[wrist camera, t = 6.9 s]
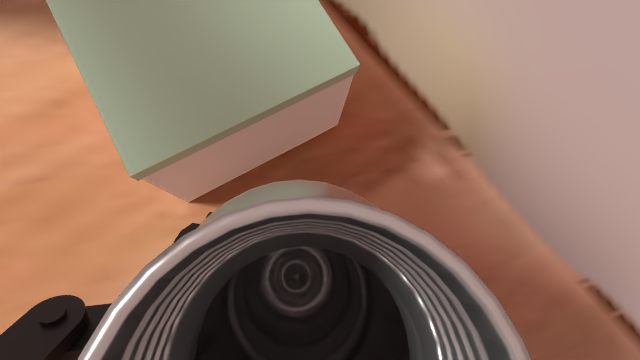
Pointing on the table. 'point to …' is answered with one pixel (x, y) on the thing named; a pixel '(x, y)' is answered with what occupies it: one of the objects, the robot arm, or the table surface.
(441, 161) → the table surface
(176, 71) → the raised stand
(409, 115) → the table surface
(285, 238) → the plastic bottle
